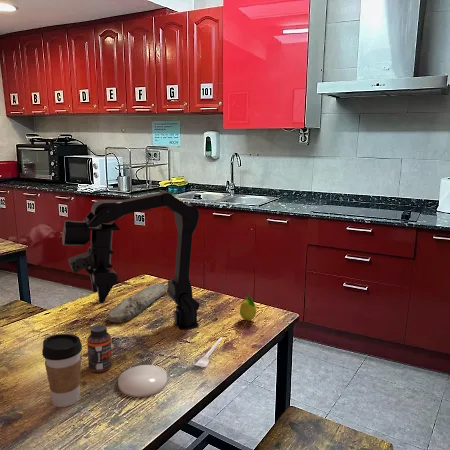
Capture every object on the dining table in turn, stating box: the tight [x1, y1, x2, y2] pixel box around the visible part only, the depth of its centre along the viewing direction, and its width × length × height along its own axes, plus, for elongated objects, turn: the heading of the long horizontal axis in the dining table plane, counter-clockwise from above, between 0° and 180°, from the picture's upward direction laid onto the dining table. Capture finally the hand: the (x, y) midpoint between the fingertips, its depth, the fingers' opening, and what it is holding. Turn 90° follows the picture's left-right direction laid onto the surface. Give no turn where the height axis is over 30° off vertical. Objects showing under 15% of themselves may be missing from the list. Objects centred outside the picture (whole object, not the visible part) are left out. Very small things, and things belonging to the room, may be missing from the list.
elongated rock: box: [107, 282, 168, 324], centre depth 151 cm, size 35×5×10 cm
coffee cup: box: [41, 333, 83, 408], centre depth 95 cm, size 8×8×15 cm
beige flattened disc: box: [117, 364, 168, 398], centre depth 104 cm, size 12×12×1 cm
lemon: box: [239, 292, 257, 322], centre depth 138 cm, size 7×6×10 cm
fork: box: [192, 336, 223, 368], centre depth 118 cm, size 3×20×2 cm, turn 161°
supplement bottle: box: [86, 324, 113, 373], centre depth 109 cm, size 6×6×11 cm
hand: (98, 297), depth 120 cm, fingers open, 9 cm apart
